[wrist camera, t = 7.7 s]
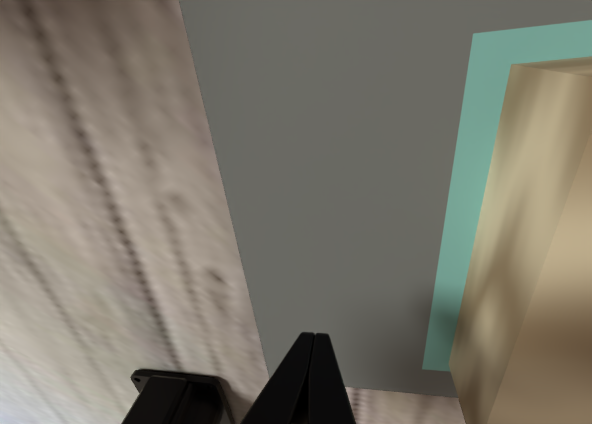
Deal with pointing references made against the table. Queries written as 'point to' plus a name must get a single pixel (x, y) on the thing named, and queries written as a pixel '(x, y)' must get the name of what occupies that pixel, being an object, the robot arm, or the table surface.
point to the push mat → (364, 161)
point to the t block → (532, 258)
